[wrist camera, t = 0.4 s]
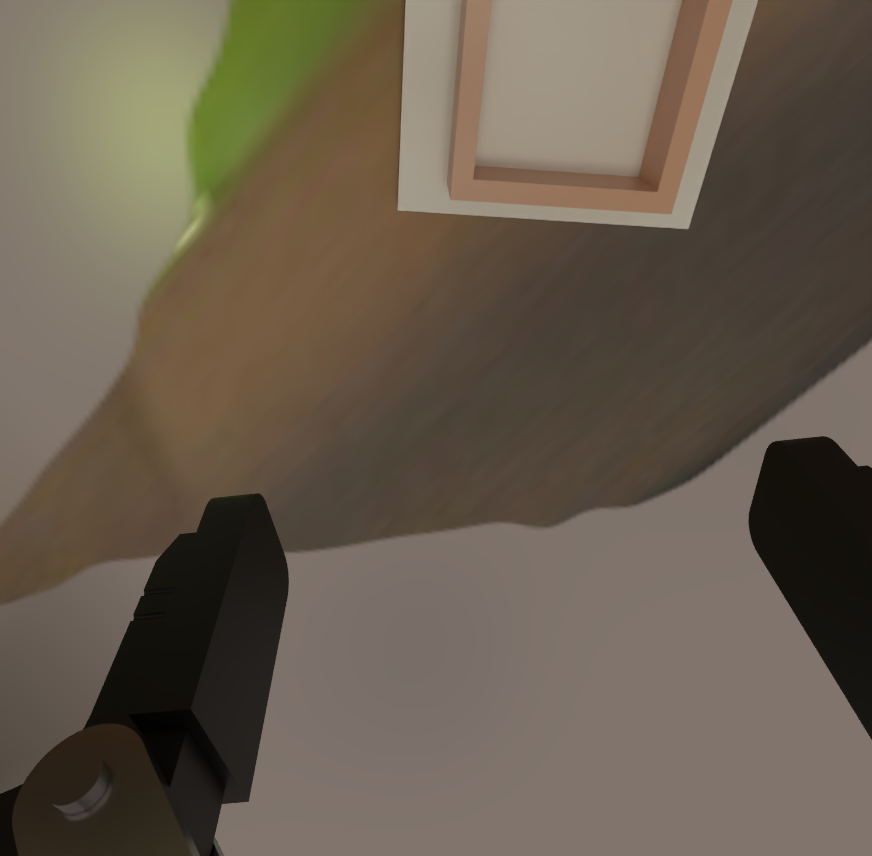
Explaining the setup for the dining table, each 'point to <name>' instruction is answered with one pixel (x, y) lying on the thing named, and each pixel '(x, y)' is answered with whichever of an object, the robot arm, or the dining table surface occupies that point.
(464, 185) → the dock
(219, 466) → the dining table surface
